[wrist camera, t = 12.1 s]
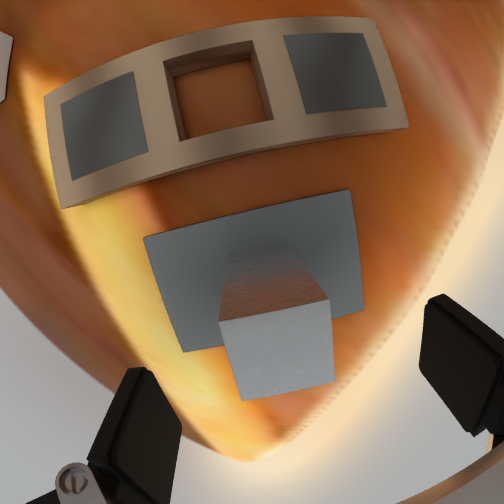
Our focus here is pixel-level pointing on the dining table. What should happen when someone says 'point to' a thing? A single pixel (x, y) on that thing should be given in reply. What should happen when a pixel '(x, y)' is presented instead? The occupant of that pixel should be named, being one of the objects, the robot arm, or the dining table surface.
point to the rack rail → (230, 140)
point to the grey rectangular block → (275, 323)
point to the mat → (248, 238)
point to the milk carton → (4, 61)
